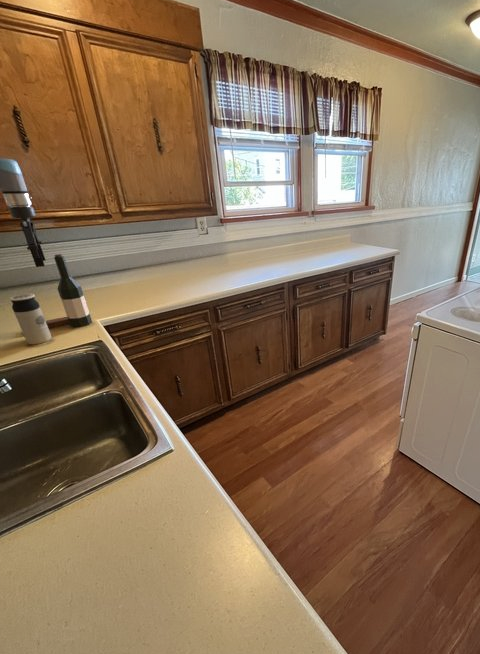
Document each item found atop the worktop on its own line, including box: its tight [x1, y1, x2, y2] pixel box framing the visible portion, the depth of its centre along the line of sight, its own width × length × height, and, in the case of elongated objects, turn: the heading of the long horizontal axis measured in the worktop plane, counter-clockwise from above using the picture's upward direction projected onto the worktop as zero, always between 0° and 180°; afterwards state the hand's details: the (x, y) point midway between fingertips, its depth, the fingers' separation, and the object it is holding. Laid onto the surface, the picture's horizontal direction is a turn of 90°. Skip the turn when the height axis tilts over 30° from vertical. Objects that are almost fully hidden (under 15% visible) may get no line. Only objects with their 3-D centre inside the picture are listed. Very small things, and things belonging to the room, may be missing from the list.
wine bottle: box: [53, 253, 93, 328], centre depth 137 cm, size 8×8×30 cm
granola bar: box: [45, 316, 70, 330], centre depth 142 cm, size 12×4×2 cm, turn 130°
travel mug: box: [9, 293, 52, 345], centre depth 125 cm, size 8×8×18 cm
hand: (41, 263), depth 132 cm, fingers open, 13 cm apart
